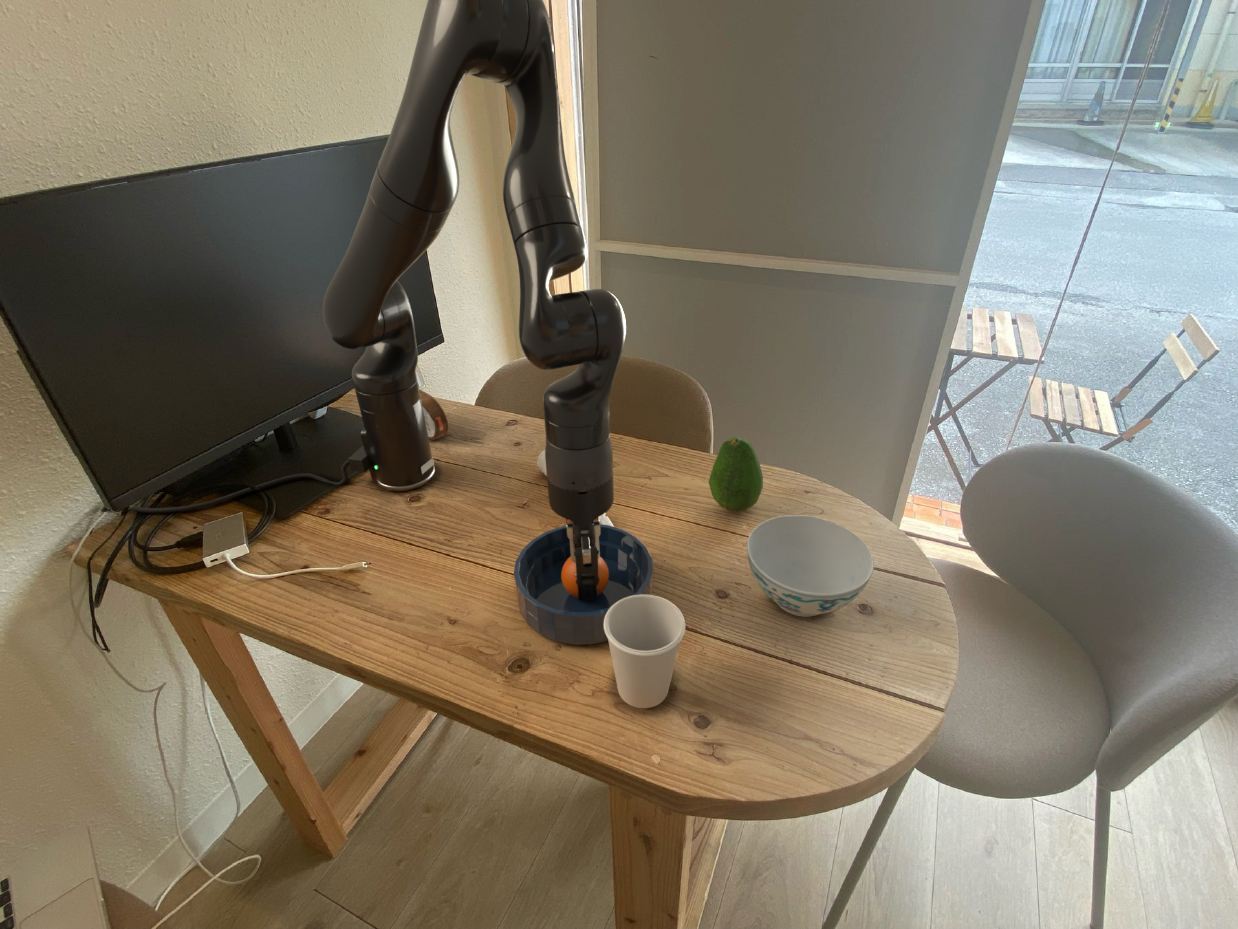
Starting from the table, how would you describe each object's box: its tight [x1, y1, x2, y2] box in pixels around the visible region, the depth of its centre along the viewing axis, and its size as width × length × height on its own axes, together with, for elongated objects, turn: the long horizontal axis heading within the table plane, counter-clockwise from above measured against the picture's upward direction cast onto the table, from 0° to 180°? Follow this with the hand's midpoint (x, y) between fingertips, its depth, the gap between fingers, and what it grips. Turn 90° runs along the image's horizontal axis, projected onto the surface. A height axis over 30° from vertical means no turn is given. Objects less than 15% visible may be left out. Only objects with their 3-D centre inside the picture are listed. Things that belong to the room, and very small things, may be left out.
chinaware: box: [746, 514, 875, 618], centre depth 80 cm, size 15×15×8 cm
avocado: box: [708, 436, 764, 512], centre depth 96 cm, size 8×8×12 cm
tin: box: [419, 388, 450, 441], centre depth 118 cm, size 15×3×8 cm, turn 47°
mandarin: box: [561, 556, 609, 599], centre depth 80 cm, size 6×6×6 cm
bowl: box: [513, 524, 654, 645], centre depth 81 cm, size 17×17×6 cm
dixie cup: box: [604, 594, 686, 709], centre depth 68 cm, size 8×8×10 cm
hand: (585, 580), depth 81 cm, fingers closed on mandarin, 6 cm apart
